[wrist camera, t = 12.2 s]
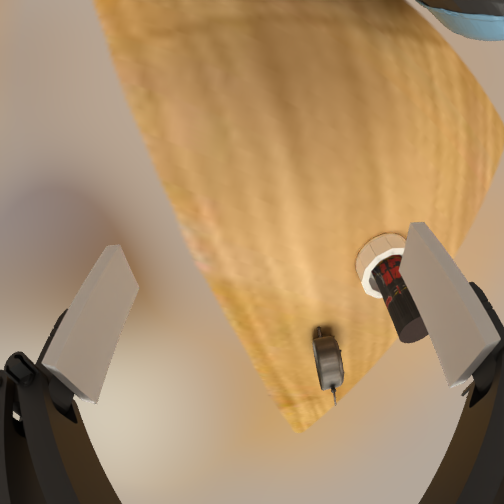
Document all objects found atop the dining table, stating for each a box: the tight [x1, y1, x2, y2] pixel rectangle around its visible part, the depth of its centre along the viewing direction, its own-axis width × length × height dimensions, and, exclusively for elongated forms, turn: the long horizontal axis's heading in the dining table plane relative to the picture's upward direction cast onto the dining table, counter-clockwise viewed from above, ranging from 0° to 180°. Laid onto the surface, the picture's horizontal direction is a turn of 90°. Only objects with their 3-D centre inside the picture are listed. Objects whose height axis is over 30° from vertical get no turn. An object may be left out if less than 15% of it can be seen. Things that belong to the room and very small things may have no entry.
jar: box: [356, 233, 406, 298], centre depth 43 cm, size 10×10×4 cm
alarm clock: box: [313, 327, 345, 406], centre depth 50 cm, size 11×5×16 cm, turn 13°
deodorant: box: [371, 254, 429, 343], centre depth 37 cm, size 6×6×15 cm
